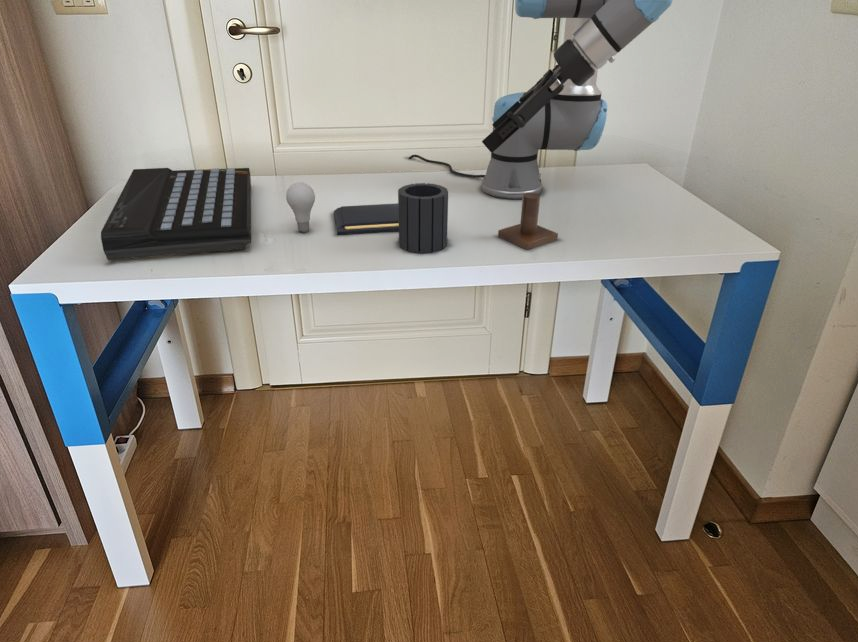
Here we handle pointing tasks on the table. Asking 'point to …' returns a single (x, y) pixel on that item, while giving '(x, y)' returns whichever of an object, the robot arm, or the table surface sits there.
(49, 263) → the table surface
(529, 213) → the peg
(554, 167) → the table surface
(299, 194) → the lightbulb
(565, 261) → the table surface
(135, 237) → the computer keyboard
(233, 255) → the table surface
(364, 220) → the wallet
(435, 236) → the ribbed pencil cup
